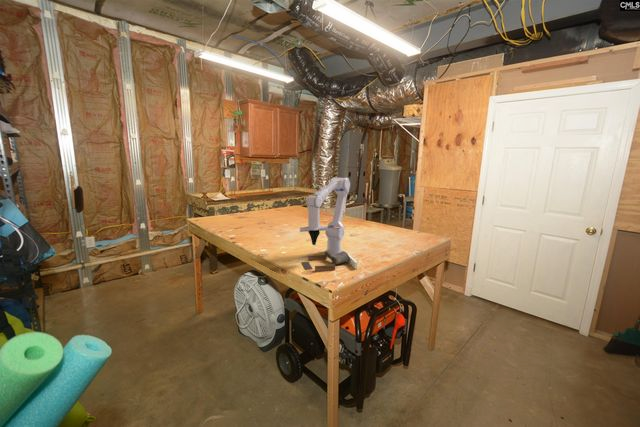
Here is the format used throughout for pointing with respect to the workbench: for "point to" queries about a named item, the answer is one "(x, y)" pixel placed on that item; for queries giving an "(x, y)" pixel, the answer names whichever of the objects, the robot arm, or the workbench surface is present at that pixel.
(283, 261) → the workbench surface
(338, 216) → the robot arm
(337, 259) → the pipe
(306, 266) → the strip
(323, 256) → the brown wooden board
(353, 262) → the cream plank
